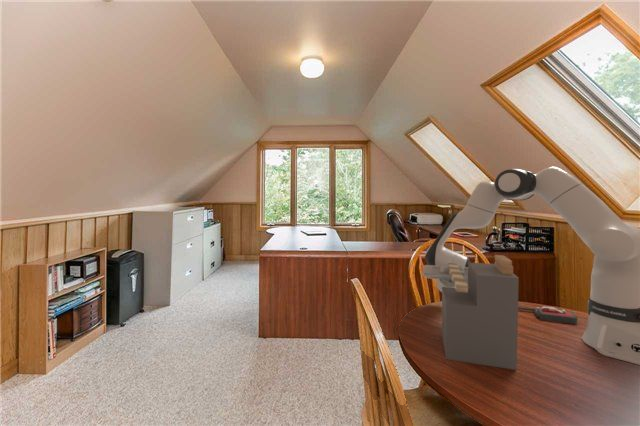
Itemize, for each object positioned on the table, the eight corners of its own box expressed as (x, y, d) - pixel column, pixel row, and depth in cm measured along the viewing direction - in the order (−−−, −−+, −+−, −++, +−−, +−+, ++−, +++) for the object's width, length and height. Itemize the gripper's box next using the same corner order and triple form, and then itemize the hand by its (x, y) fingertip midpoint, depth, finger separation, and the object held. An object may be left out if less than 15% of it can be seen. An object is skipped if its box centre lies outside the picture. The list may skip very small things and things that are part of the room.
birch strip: (447, 268, 108) (447, 262, 107) (456, 268, 107) (456, 263, 106) (456, 291, 83) (456, 284, 83) (467, 292, 82) (468, 285, 82)
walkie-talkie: (573, 317, 114) (512, 309, 122) (573, 306, 114) (513, 299, 122) (582, 326, 106) (517, 317, 114) (582, 314, 106) (517, 306, 114)
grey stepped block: (441, 334, 101) (442, 250, 99) (500, 342, 95) (502, 253, 93) (446, 359, 86) (446, 260, 84) (516, 370, 80) (519, 264, 78)
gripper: (421, 267, 120) (422, 257, 108) (477, 271, 113) (483, 260, 102) (422, 282, 117) (422, 273, 105) (478, 287, 111) (485, 278, 99)
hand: (453, 267), depth 103 cm, fingers closed on birch strip, 3 cm apart
